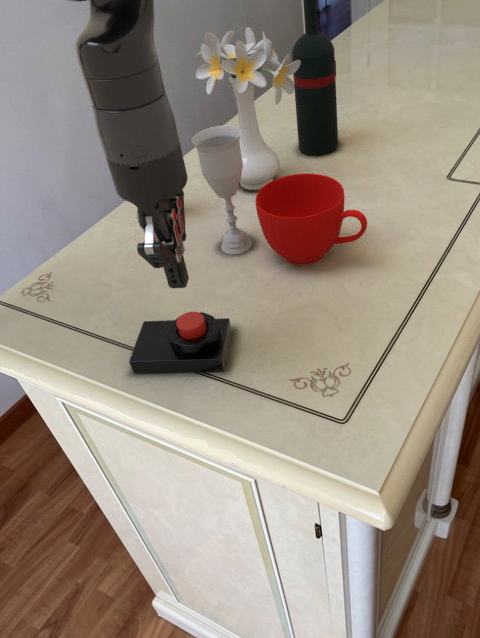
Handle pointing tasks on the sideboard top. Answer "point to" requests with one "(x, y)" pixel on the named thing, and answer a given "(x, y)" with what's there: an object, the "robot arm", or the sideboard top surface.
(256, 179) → the flower vase
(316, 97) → the wine bottle
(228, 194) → the chalice
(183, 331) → the red short cylinder
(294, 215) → the ceramic cup
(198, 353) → the black flat block
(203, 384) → the sideboard top surface
